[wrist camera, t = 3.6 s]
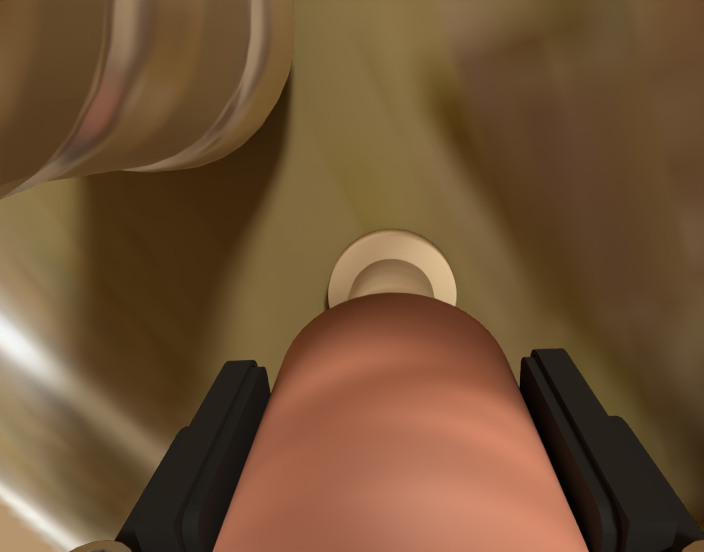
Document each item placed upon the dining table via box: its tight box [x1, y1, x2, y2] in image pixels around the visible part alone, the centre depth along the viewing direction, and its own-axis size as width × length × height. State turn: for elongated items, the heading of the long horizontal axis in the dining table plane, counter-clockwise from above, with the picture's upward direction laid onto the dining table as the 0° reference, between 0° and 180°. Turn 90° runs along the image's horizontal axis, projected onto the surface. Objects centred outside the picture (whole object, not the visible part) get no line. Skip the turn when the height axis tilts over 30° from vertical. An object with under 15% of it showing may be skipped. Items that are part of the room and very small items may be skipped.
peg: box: [213, 229, 589, 552], centre depth 11 cm, size 5×5×11 cm
